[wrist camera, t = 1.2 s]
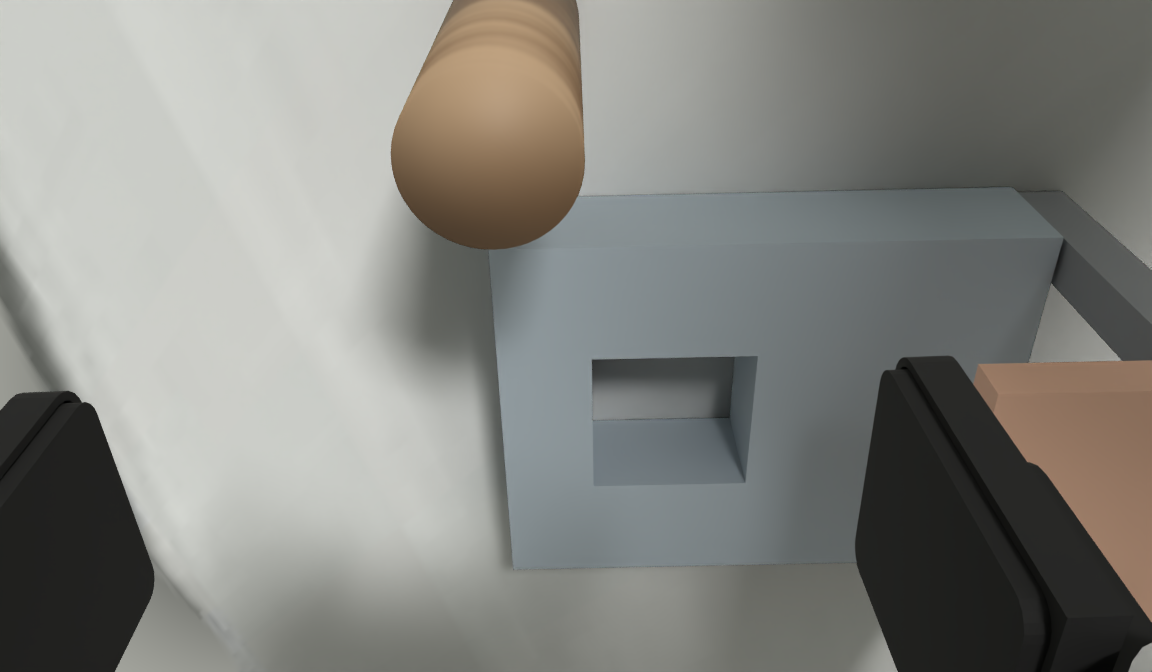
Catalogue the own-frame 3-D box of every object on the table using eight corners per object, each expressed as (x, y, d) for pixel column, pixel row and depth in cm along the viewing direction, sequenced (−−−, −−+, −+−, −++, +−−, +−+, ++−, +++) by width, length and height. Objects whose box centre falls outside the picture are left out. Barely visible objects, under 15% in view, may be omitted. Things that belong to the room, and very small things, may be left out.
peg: (446, -45, 28) (378, 68, 18) (577, -48, 28) (583, 63, 18) (457, 85, 31) (403, 251, 20) (579, 82, 31) (586, 247, 20)
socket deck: (494, 171, 32) (453, 405, 21) (1077, 158, 32) (1363, 387, 20) (519, 517, 41) (499, 821, 29) (979, 508, 40) (1143, 809, 29)
